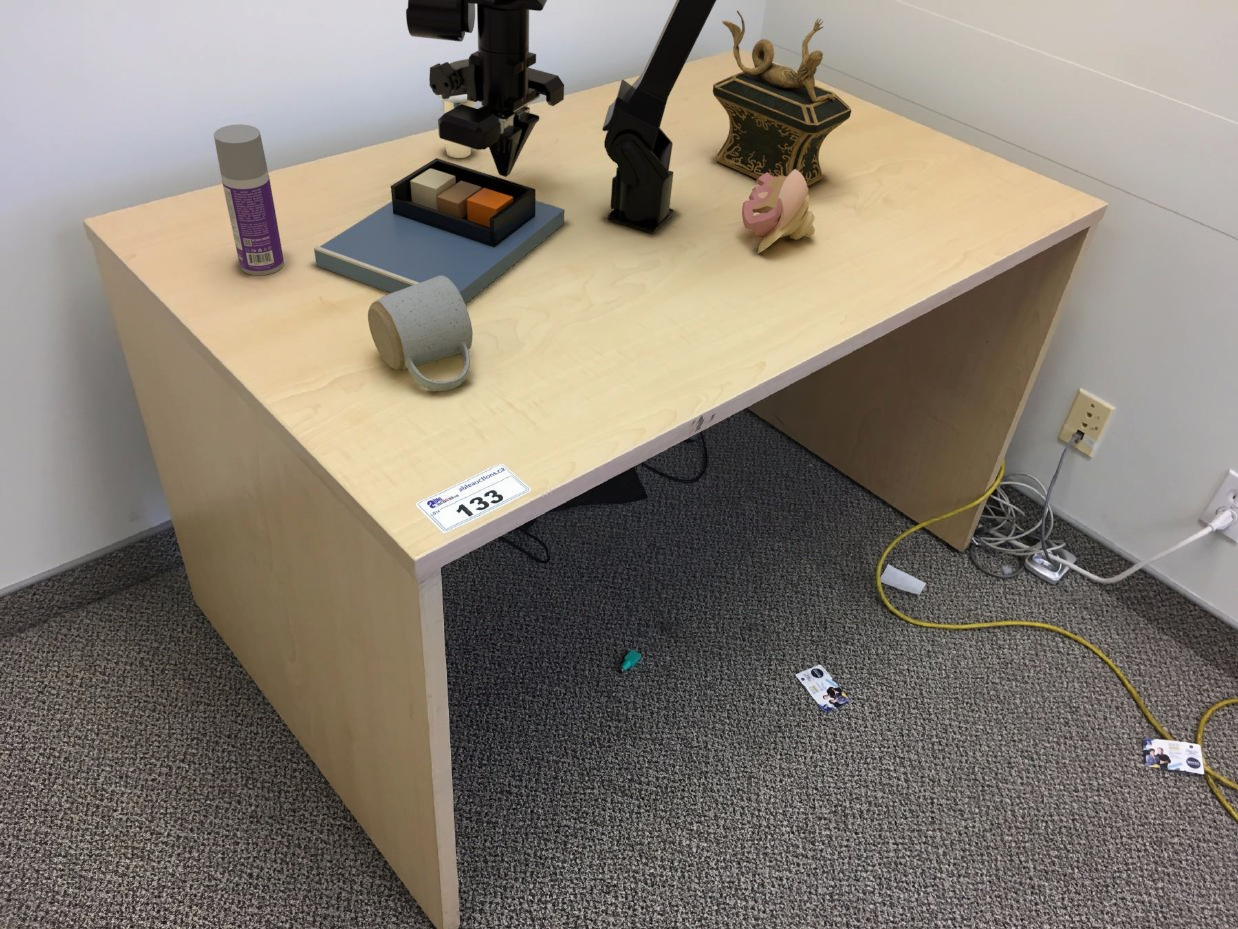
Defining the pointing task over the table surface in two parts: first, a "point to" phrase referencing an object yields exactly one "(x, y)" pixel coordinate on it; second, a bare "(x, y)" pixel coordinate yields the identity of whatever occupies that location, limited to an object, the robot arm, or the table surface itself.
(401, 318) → the ceramic mug
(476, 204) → the black open tray
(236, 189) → the container
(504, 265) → the blue flat slab
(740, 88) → the decorative box
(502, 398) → the table surface
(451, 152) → the milkshake
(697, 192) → the table surface
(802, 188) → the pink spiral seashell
